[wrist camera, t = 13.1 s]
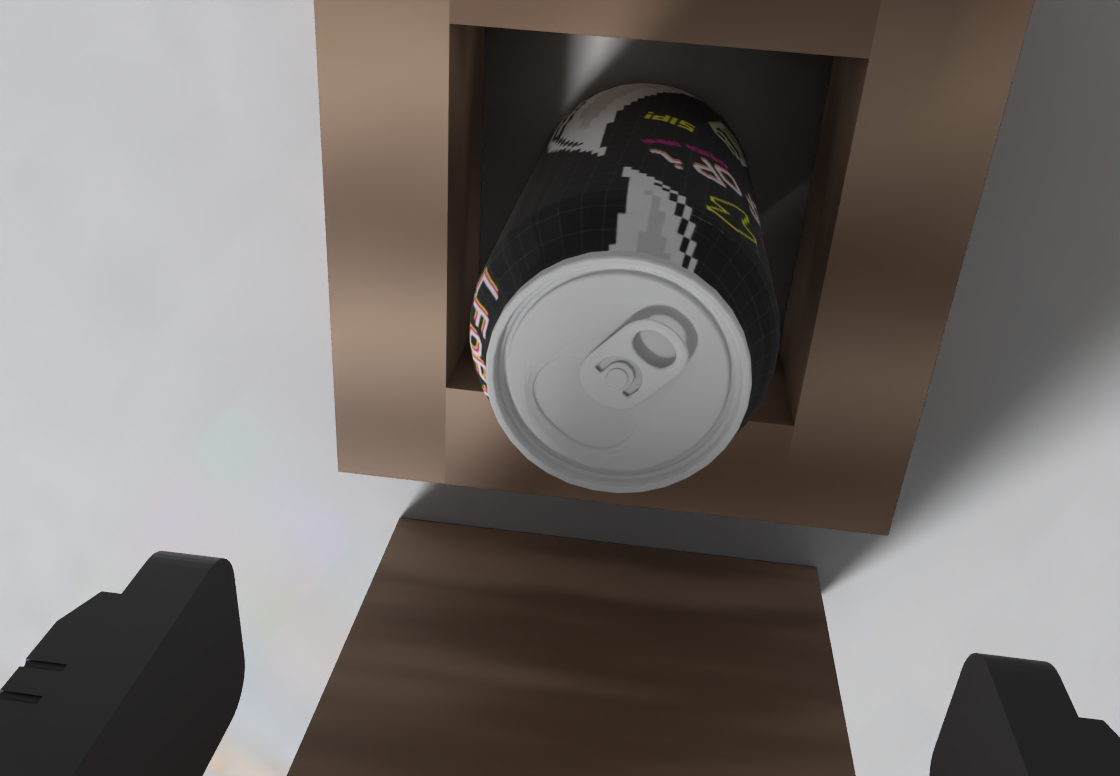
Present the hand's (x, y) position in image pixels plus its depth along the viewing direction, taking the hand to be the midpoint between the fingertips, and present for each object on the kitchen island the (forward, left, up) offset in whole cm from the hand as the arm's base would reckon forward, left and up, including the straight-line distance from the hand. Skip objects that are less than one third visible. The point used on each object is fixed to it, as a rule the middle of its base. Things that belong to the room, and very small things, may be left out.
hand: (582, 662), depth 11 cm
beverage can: (0, 0, -19) cm, 19 cm away
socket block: (0, 0, -19) cm, 19 cm away
